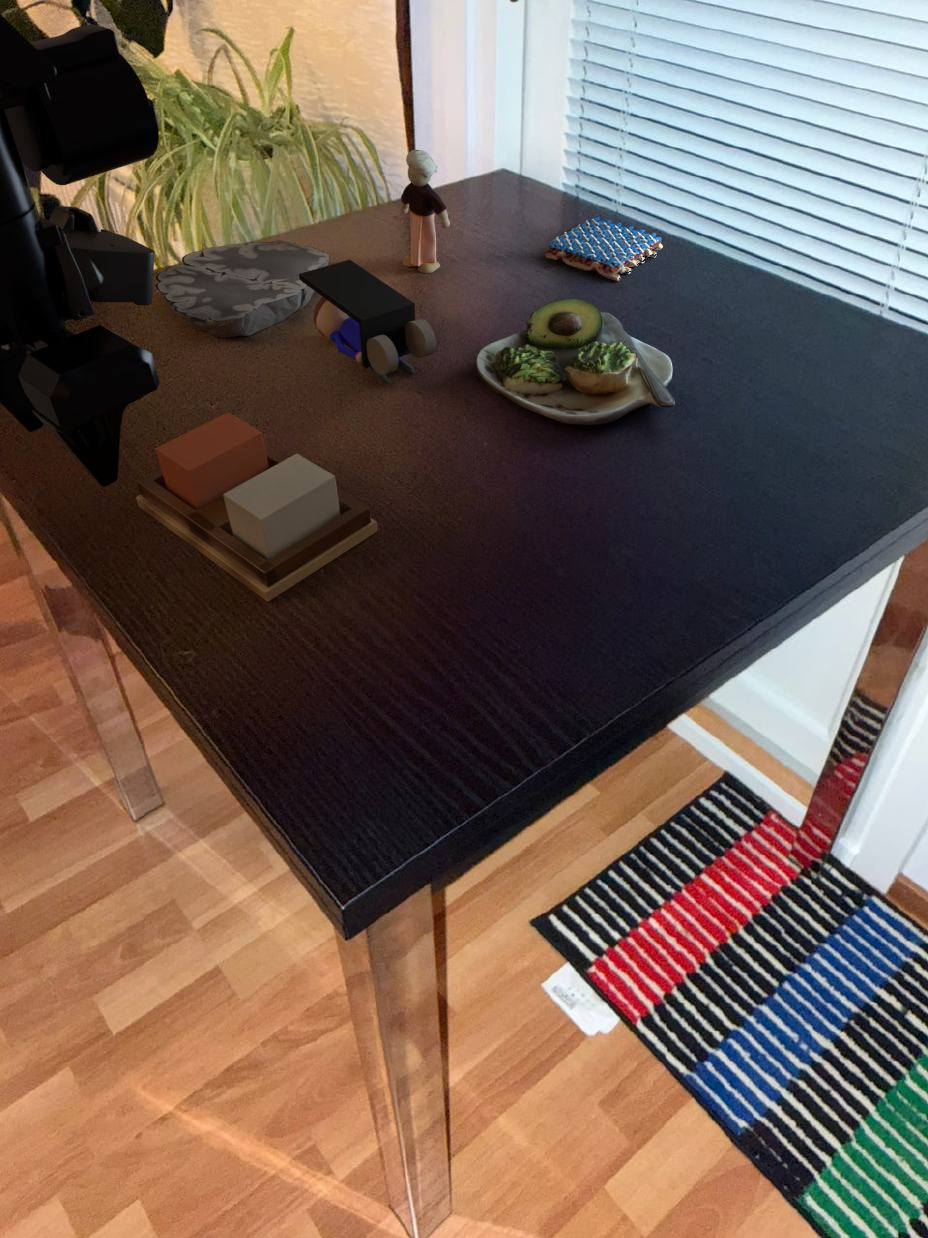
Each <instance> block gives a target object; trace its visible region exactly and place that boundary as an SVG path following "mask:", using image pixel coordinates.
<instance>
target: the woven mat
mask: <svg viewBox="0 0 928 1238" xmlns="http://www.w3.org/2000/svg"><path fill="white" fill-rule="evenodd" d="M600 218H601V217H600V216H595V217H594V218H591V219H586V220H585V223H583V224H580V223H579V224H577V227H575V228H572V229H571V230H569V231H564V232H563V234H562V235H559V236H556V238H555V239H553V240H549V243H548V245H547V246H548V248H547V249H546V250H545V252H546V254H545V258H546V259H548V260H549V259H550V260H556V261H558V260H560V261H563V263H564V264H566V265H567V266H571V267H574V268H576V269H579V270H583V271H585V272H586V271H593V272H597V273H598V274H599V275H601V274H602V275H601V276H603V278H607V279H609V280H613V281H616V282H619V281H620V279H621V275H622V274H623V273H625V274H627V275H630V274H631V273H632V268H629V267H633V268H634V267H637V266H639V264H644V263H645V261H644V262H640V261H639V260H642V261H643V260H644V259H645V260H646V258H649V257H650V258H653V259H655V258H656V257H657V256H658V253H657V251H652V249H655V250H660V251H662V249H663V246H664V245H663V244H662V240H663V239H662V236H657V233H656V232H652V233H649V232H648V233H645V231H646V230H645V229H642V228H641V229H640V230H637V229H636V230H635V229H634V226H632V225H630V226H628V227H627V226H624V227H623V226H622V225H623V223H621V222H618V223H611V222H612V219H606V220H600ZM652 254H654V255H655V254H657V255H656V256H655V257H654V256H650V255H652ZM643 256H644V257H643ZM645 256H647V257H645ZM637 259H639V260H637ZM638 263H639V264H638ZM637 264H638V265H637ZM576 266H577V267H576ZM579 267H580V268H579ZM582 268H583V269H582ZM625 271H626V272H629V271H631V272H629V273H626V272H625ZM620 274H621V275H620ZM604 275H606V276H604ZM608 276H609V277H608ZM619 278H620V279H619Z"/></svg>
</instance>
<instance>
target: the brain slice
mask: <svg viewBox="0 0 928 1238" xmlns="http://www.w3.org/2000/svg"><path fill="white" fill-rule="evenodd" d="M329 260H330V255H329V253H328V252H325V251H324V250H321V249H318V248H316V247H312V246H308V245H303V244H301V243H300V244H299V243H296V242H291V241H284V240H271V241H249V242H245V243H231V244H225V245H220V246H211V247H207V248H203V249H200V250H197V251H196V250H195V251H193V252H189V253H187V254H185V255H183V256H181V263H182V264H177V265H172V266H168V267H167V268H165V269H164V270H162V271H160V272H158V273H157V274H156V275H155V280H156V281H157V283H155V286H154V287H155V290H156V291H157V293H160V294H161V295H162V298H163V300H164V301H165V303H166V304H167V305H168V306H169V307H170V308H171V310H172V312H174V313H175V314H176V316H178V317H179V318H181V319H183V320H184V321H185V322H186V323H187V324H188V325H189V326H191V327H192V328H194V329H195V330H198V331H202V332H208V333H209V334H210V335H212V336H213V337H214V338H215V337H216V338H223V339H227V338H234V337H238V336H240V337H249V336H252V335H255V334H256V333H258V332H260V331H262V330H265V329H268V328H271V327H272V326H274V325H277V324H279V323H281V322H284V320H286V319H287V318H289V317H290V316H292V315H293V314H294V313H295V312H300V311H301V310H302V309H303V308H304V307H305V306H307V304H308V303H309V302H310V301H311V299H312V296H313V295H314V294H315V293H316V291H314V290H313V289H311V288H310V287H309V286H307V285H306V284H305V283H303V282H302V281H301V280H299V274H300V273H304V272H307V271H311V270H314V269H318V268H321V267H325V266H328V265H329Z"/></svg>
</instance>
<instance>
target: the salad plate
mask: <svg viewBox="0 0 928 1238" xmlns="http://www.w3.org/2000/svg"><path fill="white" fill-rule="evenodd" d="M525 323H526V329H524V330H521V331H519V332H517V333H514V334H512V335H509V336H506V337H504V338H502V339H499V340H496V341H494V342H492V343H489V344H488V345H485V347H483V348H481V349H480V350H479V351H478V353H477V355H476V360H475V370H476V374H477V376H478V378H479V380H480V381H481V382H482V383H483V384H484V385H485V386H486V387H487V389H489V390H490V391H491V392H492V393H494V394H496V395H497V396H500V397H503V398H505V399H507V400H509V401H511V402H512V403H513V404H515V405H517V406H519V407H521V408H524V409H526V410H528V411H530V412H533V413H535V414H538V415H540V416H544V417H546V418H548V419H551V420H553V421H556V422H559V423H562V424H567V425H582V426H583V425H584V426H586V425H587V426H594V425H596V426H597V425H602V424H608V423H612V422H614V421H616V420H619V419H620V418H622V417H624V416H626V415H627V414H629V413H630V412H632V411H634V410H636V409H639V408H641V407H643V406H646V405H651V404H652V405H655V406H657V407H659V408H672V407H674V406H675V404H676V403H675V402H676V401H675V399H674V397H673V396H672V394H671V392H670V391H669V390H668V389H667V386H668V385H669V383H671V382H672V378H673V363H672V360H671V358H670V357H669V356H668V355H667V354H666V353H665V352H662V351H661V350H659V349H657V348H656V347H654V346H652V345H649V344H648V343H645V342H642V341H641V340H639V339H637V338H635V337H632V336H631V335H629V334H628V333H627V331H626V330H625V329H624V325H623V324H622V323H621V322H620V321H619V320H618V319H617V317H615V316H614V315H613V314H611V313H610V312H603V311H600V310H599V308H598V307H596V305H594V304H592V303H591V302H589V301H586V300H582V299H578V298H563V299H562V298H561V299H557V300H554V301H550V302H548V303H545V304H544V305H541V306H540V307H538V308H536V310H534V311H532V313H531V314H530V317H529V319H527V320H526V321H525Z"/></svg>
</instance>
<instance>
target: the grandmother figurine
mask: <svg viewBox="0 0 928 1238" xmlns="http://www.w3.org/2000/svg"><path fill="white" fill-rule="evenodd" d="M405 158H406V159H405V161H406V165H407V177H408V180H409V182H410V183H408V184H407V185H406V186H405V188H404V189H403V191H402V193H401V195H400V206H399V212H400V214H402V215H406V214H407V213H409V222H410V225H409V226H410V255H407V256H405V257H404V259H403V260H402V261H403V262H402V265H403V266H405V267H408V268H409V267H410V268H411V267H418V268H417V269H418V272H420V273H423V274H432V273H434V272H435V271H437V270H438V269H439V268H441V265H440V263H439V262H438V261H437V235H436V233H437V231H436V227H435V216H437V217H438V219H439V220H440V225H441V228H443V229H447V228H449V227H450V226H451V222H450V219H449V214H448V211H447V210H448V207H447V205H446V204H445V203H444V201H443V199H442V198H441V197H440V195H439V194H438V193H437V192H436V191H435V190H434V189H433V187H432V185H430V184H429V182H430V181H431V178H432V177H433V175H434V174H435V173H438V165H437V163H436V162H435V161H436V160H434V159H433V158H432V155H430V153H429V152H427V151H425V150H423V149H412V150H410V151H409V152H408V153H407V155H406V157H405ZM435 214H436V215H435Z"/></svg>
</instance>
